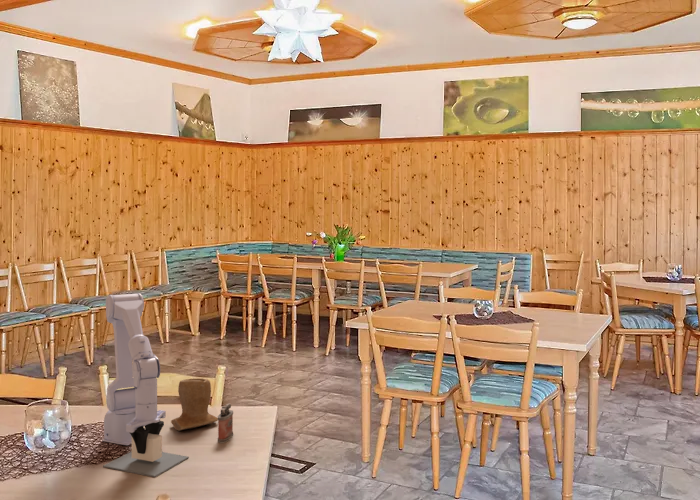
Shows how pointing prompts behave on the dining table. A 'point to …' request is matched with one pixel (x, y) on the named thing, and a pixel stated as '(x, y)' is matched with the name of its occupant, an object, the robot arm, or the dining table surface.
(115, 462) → the slate mat
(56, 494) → the dining table surface
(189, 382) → the brown bookend
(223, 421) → the red patterned tin
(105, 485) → the dining table surface
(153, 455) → the cream block
